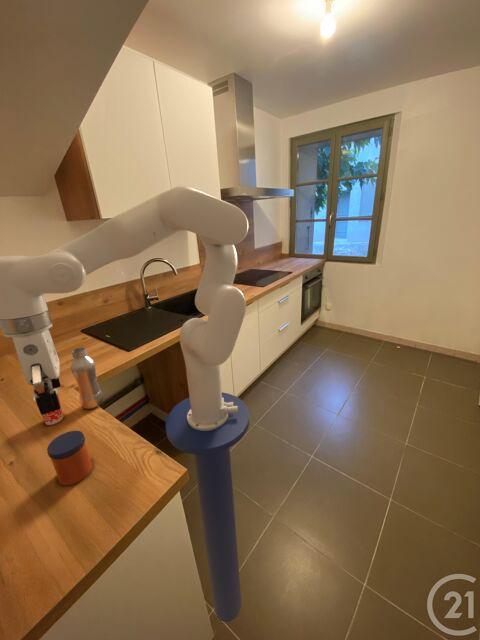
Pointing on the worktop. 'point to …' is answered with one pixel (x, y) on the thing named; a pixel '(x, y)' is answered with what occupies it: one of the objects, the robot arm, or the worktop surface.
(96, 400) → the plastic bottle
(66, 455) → the lid
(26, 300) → the robot arm
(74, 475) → the jar
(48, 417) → the beverage cup
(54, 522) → the worktop surface
